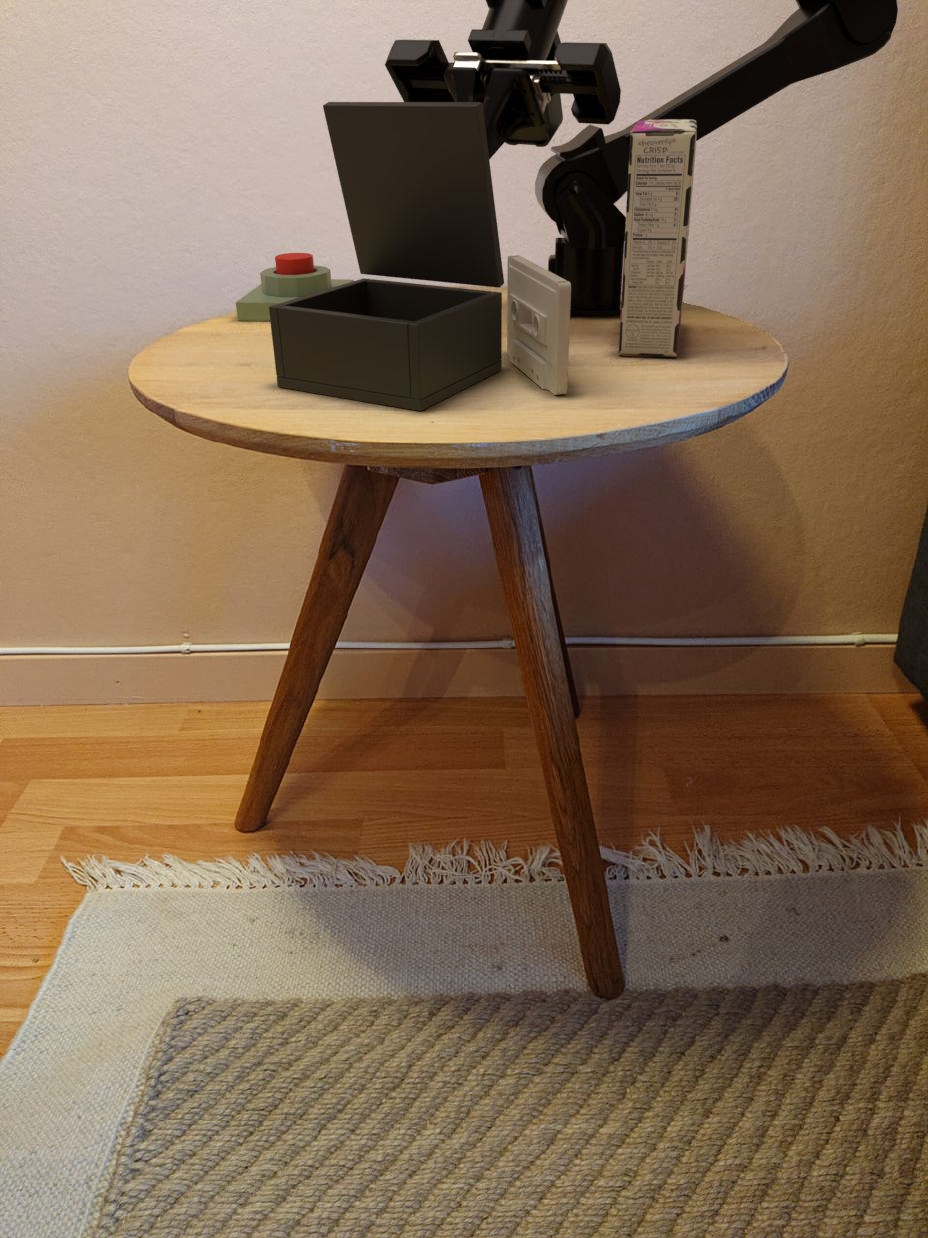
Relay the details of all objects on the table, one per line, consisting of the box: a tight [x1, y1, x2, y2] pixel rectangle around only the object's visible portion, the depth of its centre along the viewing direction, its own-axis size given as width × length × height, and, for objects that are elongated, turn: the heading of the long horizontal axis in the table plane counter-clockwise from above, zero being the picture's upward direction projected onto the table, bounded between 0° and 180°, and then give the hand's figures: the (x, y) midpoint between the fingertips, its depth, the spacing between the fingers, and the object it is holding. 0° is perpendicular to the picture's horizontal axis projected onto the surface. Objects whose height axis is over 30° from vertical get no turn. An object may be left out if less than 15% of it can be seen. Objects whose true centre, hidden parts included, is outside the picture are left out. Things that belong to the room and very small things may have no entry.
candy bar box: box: [618, 119, 697, 358], centre depth 77 cm, size 11×5×16 cm, turn 168°
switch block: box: [235, 264, 355, 322], centre depth 94 cm, size 11×9×4 cm
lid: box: [322, 101, 505, 288], centre depth 70 cm, size 12×13×1 cm
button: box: [274, 252, 315, 275], centre depth 93 cm, size 4×4×2 cm
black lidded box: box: [269, 277, 503, 412], centre depth 71 cm, size 12×13×6 cm
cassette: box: [506, 254, 571, 396], centre depth 71 cm, size 12×2×8 cm, turn 15°
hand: (468, 171), depth 76 cm, fingers closed
